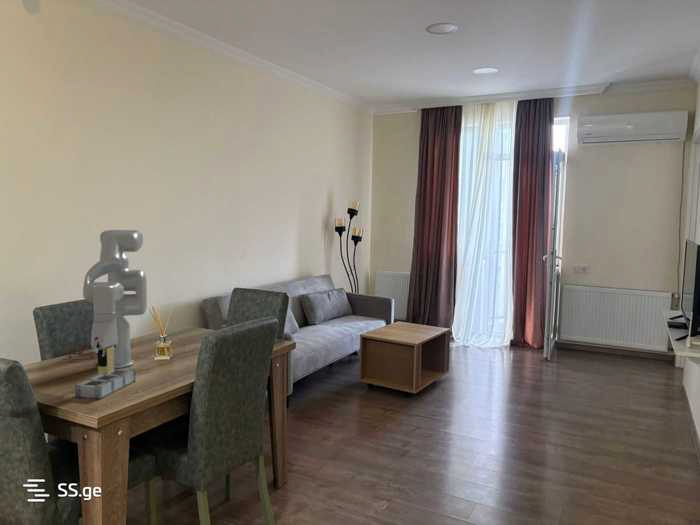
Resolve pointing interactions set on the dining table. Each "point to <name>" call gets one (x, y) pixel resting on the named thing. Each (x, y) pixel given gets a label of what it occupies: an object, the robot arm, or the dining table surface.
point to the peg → (108, 361)
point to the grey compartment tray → (104, 384)
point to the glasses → (80, 352)
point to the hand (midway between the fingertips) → (106, 364)
